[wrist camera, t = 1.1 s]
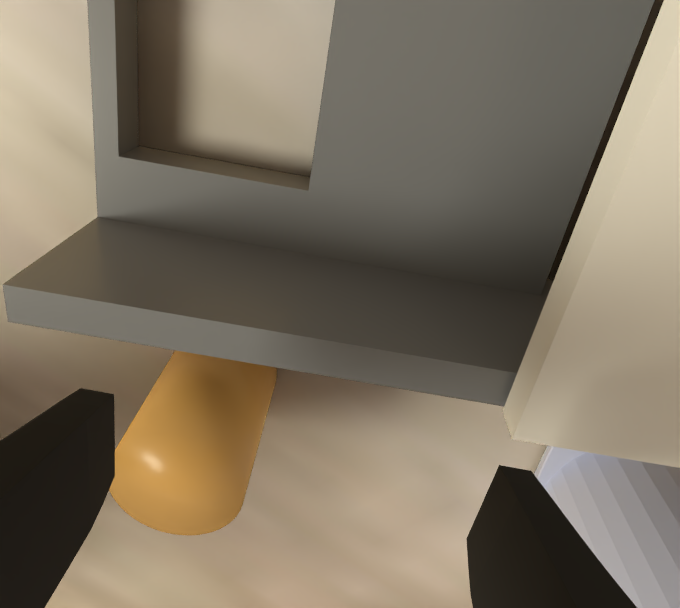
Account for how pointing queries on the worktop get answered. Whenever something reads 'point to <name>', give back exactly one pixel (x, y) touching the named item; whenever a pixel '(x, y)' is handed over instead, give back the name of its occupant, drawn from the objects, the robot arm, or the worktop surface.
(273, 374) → the peg
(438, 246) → the housing
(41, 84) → the worktop surface
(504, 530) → the robot arm
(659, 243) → the lid
